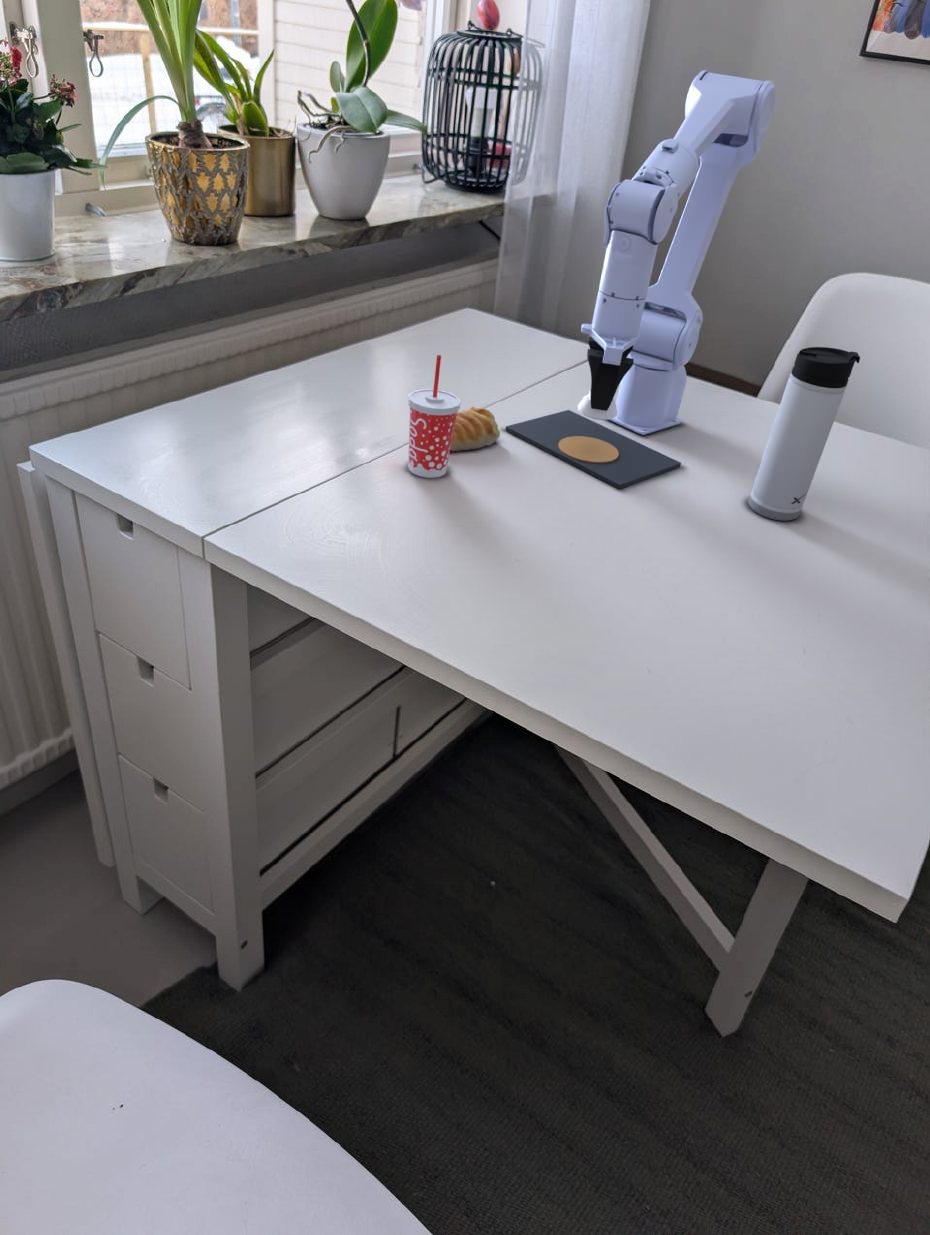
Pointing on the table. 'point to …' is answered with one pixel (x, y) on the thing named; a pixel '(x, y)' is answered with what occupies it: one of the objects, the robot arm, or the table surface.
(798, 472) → the travel mug
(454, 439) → the pastry
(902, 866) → the table surface
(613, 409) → the lidless jar
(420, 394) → the beverage cup
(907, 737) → the table surface
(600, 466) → the mat
